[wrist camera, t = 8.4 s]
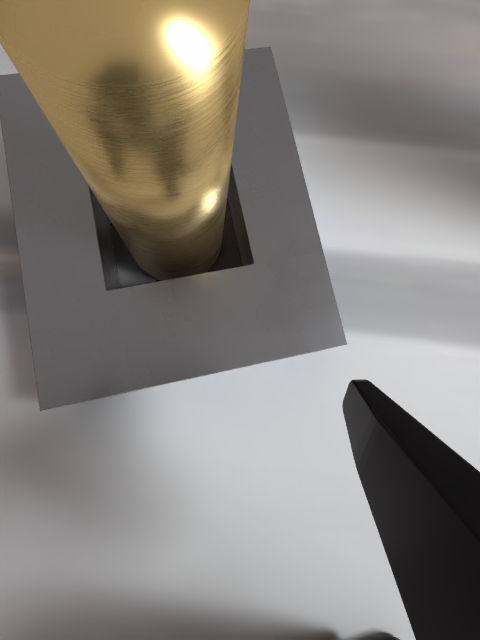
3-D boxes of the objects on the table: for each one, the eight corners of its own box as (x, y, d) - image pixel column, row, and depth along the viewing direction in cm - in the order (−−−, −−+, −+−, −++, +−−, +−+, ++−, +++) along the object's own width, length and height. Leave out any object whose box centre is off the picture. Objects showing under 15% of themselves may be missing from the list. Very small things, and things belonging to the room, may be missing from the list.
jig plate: (323, 349, 17) (346, 344, 15) (70, 404, 16) (40, 410, 13) (260, 97, 19) (270, 47, 16) (29, 125, 18) (-6, 75, 15)
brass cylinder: (230, 273, 18) (279, 65, 6) (137, 290, 17) (-17, 100, 5) (211, 188, 18) (221, -155, 6) (121, 201, 18) (-49, -146, 6)
